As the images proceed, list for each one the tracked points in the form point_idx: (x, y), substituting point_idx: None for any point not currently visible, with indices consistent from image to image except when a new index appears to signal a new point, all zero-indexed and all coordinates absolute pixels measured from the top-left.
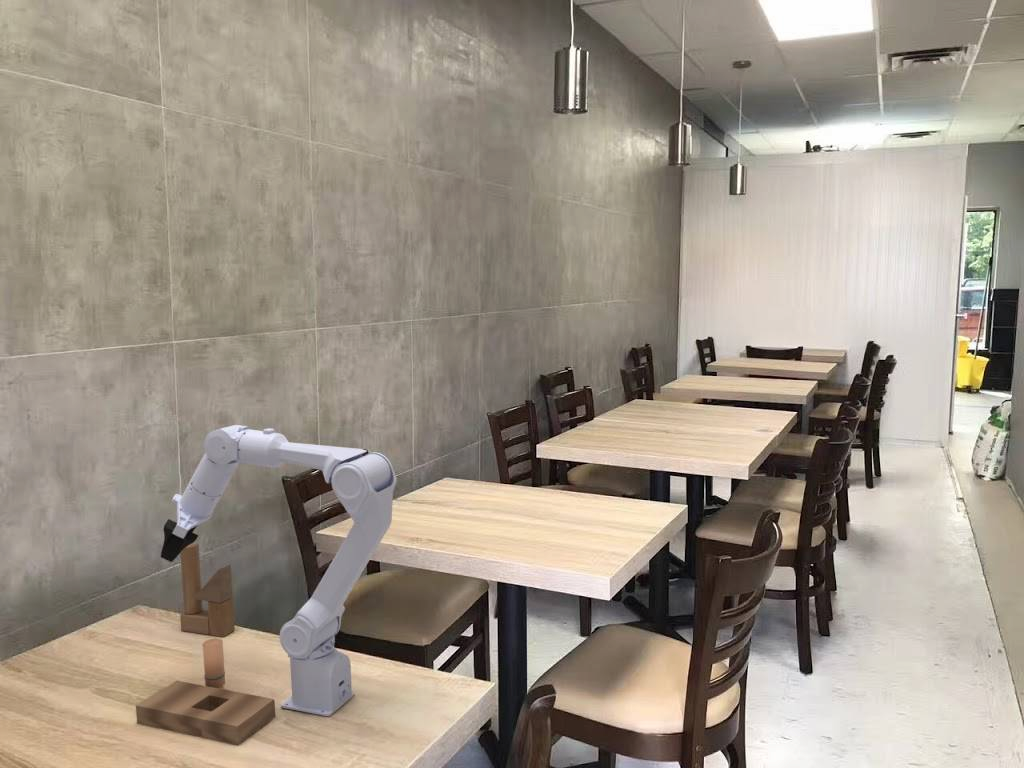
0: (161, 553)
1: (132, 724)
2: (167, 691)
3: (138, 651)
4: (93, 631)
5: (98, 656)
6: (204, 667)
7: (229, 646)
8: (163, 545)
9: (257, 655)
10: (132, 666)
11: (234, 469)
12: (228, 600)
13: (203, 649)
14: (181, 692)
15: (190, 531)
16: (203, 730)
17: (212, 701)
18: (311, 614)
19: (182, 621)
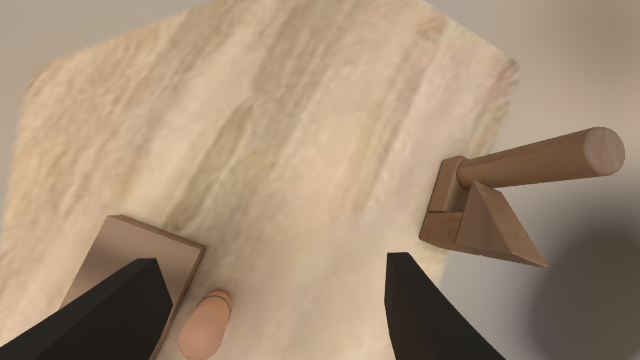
0: (116, 272)
1: (119, 209)
2: (158, 250)
3: (373, 121)
4: (442, 28)
5: (358, 68)
6: (199, 305)
7: (386, 260)
8: (42, 322)
9: (351, 322)
10: (321, 132)
11: None
12: (470, 251)
13: (190, 318)
14: None
15: (397, 353)
16: None
17: None
18: None
19: (451, 161)
